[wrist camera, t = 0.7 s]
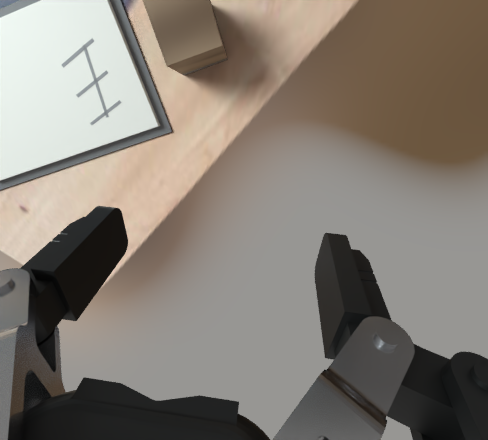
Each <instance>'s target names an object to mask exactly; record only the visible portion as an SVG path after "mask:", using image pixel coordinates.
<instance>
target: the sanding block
mask: <svg viewBox="0 0 488 440" xmlns="http://www.w3.org/2000/svg"><path fill="white" fill-rule="evenodd" d="M143 2H144V5H145V8H146V11H147V13H148V16H149V19H150V21H151V24H152V27H153V30H154V32H155V35H156V38H157V41H158V43H159V46H160V49H161V51H162V54H163V57H164V60H165V62H166V65H167V66H168V67H170V68H171V69H173V70H175V71H177V72H179V73H181V74H183V75H187V74H189V73H192V72H195V71H198V70H200V69H203V68H206V67H209V66H211V65H214V64H217V63H220V62H222V61H225V60H228V58H227V55H226V52H225V48H224V45H223V41H222V38H221V35H220V31H219V28H218V24H217V21H216V17H215V14H214V11H213V7H212V4H211V1H210V0H143Z"/></svg>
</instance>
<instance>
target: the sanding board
mask: <svg viewBox="0 0 488 440" xmlns="http://www.w3.org/2000/svg"><path fill="white" fill-rule="evenodd" d="M170 132H172V130H171V127H170V125H169V122H168V119H167V117H166V114H165V112H164V109H163V107H162V104H161V102H160V99H159V96H158V94H157V91H156V89H155V86H154V84H153V81H152V79H151V76H150V73H149V71H148V68H147V66H146V63H145V61H144V58H143V56H142V53H141V50H140V48H139V45H138V43H137V40H136V38H135V35H134V33H133V30H132V27H131V25H130V22H129V20H128V17H127V15H126V12H125V10H124V7H123V4H122V2H121V0H20V1H17V2H15V3H13V4H10V5H8V6H6V7H3V8H1V9H0V190H1V189H4V188H7V187H10V186H13V185H16V184H19V183H22V182H25V181H28V180H31V179H34V178H37V177H40V176H43V175H46V174H49V173H52V172H54V171H57V170H60V169H63V168H66V167H69V166H72V165H75V164H78V163H81V162H84V161H87V160H90V159H93V158H96V157H99V156H102V155H105V154H108V153H111V152H114V151H116V150H119V149H122V148H125V147H128V146H131V145H134V144H137V143H140V142H143V141H146V140H149V139H152V138H155V137H158V136H161V135H164V134H167V133H170Z"/></svg>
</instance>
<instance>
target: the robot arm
mask: <svg viewBox="0 0 488 440" xmlns="http://www.w3.org/2000/svg"><path fill="white" fill-rule="evenodd" d="M127 246H128V238H127V234H126V229H125V225H124V220H123V216H122V212H121V210H120V209H119V208H112V207H104V206H98V207H96V208H95V209H94V210H93V211H91V212H90V213H89V214H88V215H87V216H86V217H82V218H80V219H79V220H77V221H75V222H73V223H71V224H69V225H68V226H67V227H66V228H65V229H64V230H63V231H62V232H61V234H58V235H57V236H56V237H55V238H54V239H53V241H52V242H49V243H48V244H47V245H46V246H45V247H44V248H43V249H41V250H40V251H39V252H38V253H37V254H36V255H35V256H34V257H32V258H31V259H30V260H29V261H28V262H27V263H26V264H25V265H24V266H22V267H21V268H20V269H18V268H14V269H6V270H2V271H0V440H270V439H269V437H268V436H267V435H266V434H265V433H264V432H263V431H262V430H261V429H260V428H259V427H258V426H256V424H254V423H253V422H252V421H250V420H249V419H247V418H246V417H244V416H242V415H240V414H238V405H239V402H236V401H230V400H224V399H217V398H211V397H205V396H194V397H186V398H178V399H170V400H163V401H155V400H152V399H150V398H148V397H146V396H144V395H142V394H140V393H138V392H137V391H135V390H133V389H131V388H129V387H127V386H125V385H123V384H121V383H116V382H109V381H103V380H96V379H90V378H83V380H82V381H81V383H80V385H79V386H78V388H77V390H74V391H70V392H65V389H64V386H63V383H62V375H61V357H60V339H59V329H58V327H57V325H58V324H59V322H60V321H61V320H62V319H65V320H73V321H77V319H78V318H79V317H80V315H81V314H82V313H83V311H84V310H85V308H86V307H87V306H88V304H89V303H90V301H91V300H92V299H93V297H94V296H95V295H96V293H97V292H98V290H99V289H100V288H101V286H102V285H103V283H104V282H105V281H106V279H107V278H108V276H109V275H110V274H111V272H112V271H113V269H114V268H115V267H116V265H117V264H118V263H119V261H120V260H121V258H122V257H123V256H124V254H125V252H126V250H127ZM376 282H377V281H376V278H375V276H374V274H373V270H372V268H371V265H370V262H369V260H368V259H367V258H366V257H365V256H364V255H363V254H362V253H361V252H360V250H353V249H351V247H350V244H349V241H348V238H347V236H346V235H340V234H331V233H325V234H324V237H323V240H322V244H321V247H320V251H319V254H318V258H317V261H316V266H315V284H316V290H317V298H318V307H319V314H320V322H321V330H322V337H323V345H324V352H325V358H328V359H334V361H333V362H332V364H331V365H330V366H329V368H328V369H327V370H324V371H323V372H322V373H321V374H320V375H319V376H318V378H317V379H316V381H315V382H314V383H313V385H312V386H311V387H310V389H309V390H308V392H307V393H306V394H305V396H304V397H303V398H302V400H301V401H300V403H299V404H298V406H297V407H296V408H295V409H294V411H293V412H292V414H291V415H290V417H289V418H288V419H287V421H286V422H285V423H284V425H283V426H282V427H281V429H280V430H279V432H278V433H277V434H276V436H275V437H274V438H273V440H380V439H381V437H382V434H383V433H384V430H385V427H386V424H387V420H386V416H388V417H390V418H392V419H394V420H396V421H398V422H400V423H402V424H404V425H406V426H408V427H410V430H411V434H412V437H413V440H488V359H486V358H484V357H482V356H480V355H478V354H475V353H471V352H459V353H457V354H455V355H454V356H453V357H452V358H451V359H447V358H445V357H443V356H440V355H438V354H435V353H433V352H430V351H428V350H426V349H423V348H421V347H419V346H417V345H415V344H413V342H412V340H411V338H410V336H409V335H408V334H407V333H406V331H405V330H403V328H401V327H400V326H399V325H398V324H396V323H395V322H393V321H392V320H391V318H390V315H389V313H388V310H387V307H386V305H385V302H384V299H383V297H382V294H381V291H380V289H379V286H378V284H377V283H376Z"/></svg>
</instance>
